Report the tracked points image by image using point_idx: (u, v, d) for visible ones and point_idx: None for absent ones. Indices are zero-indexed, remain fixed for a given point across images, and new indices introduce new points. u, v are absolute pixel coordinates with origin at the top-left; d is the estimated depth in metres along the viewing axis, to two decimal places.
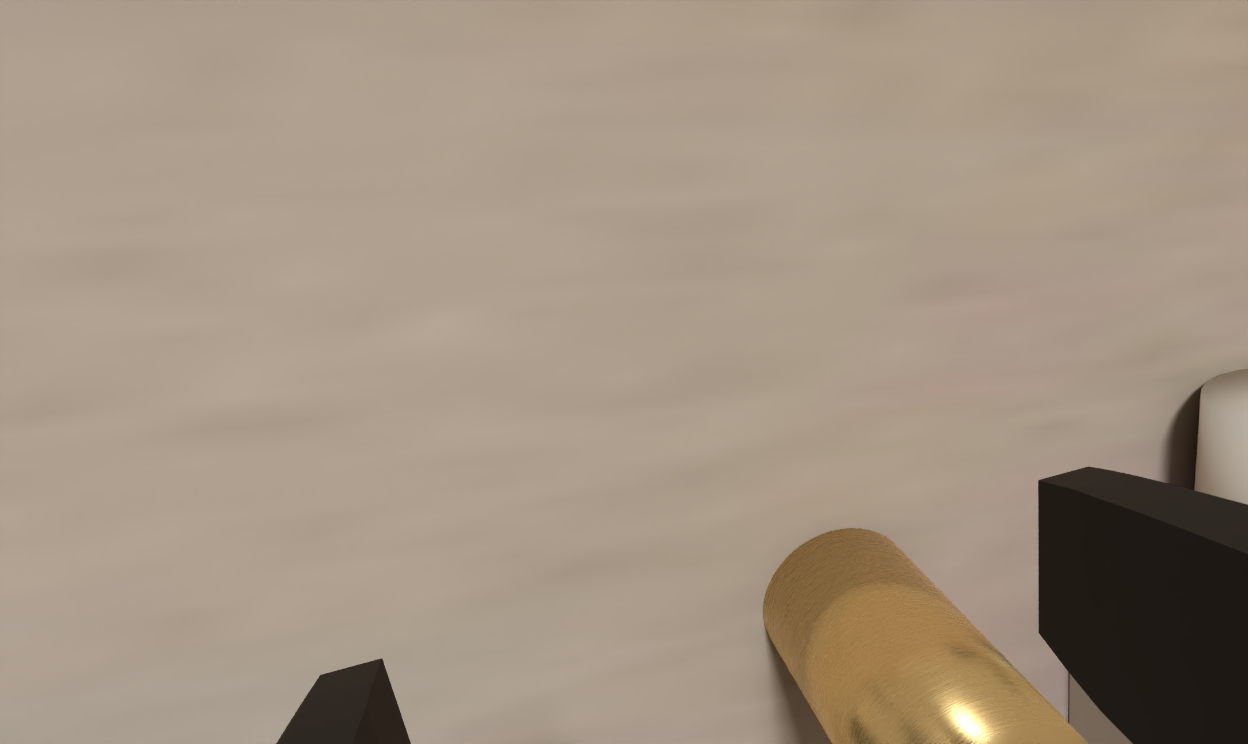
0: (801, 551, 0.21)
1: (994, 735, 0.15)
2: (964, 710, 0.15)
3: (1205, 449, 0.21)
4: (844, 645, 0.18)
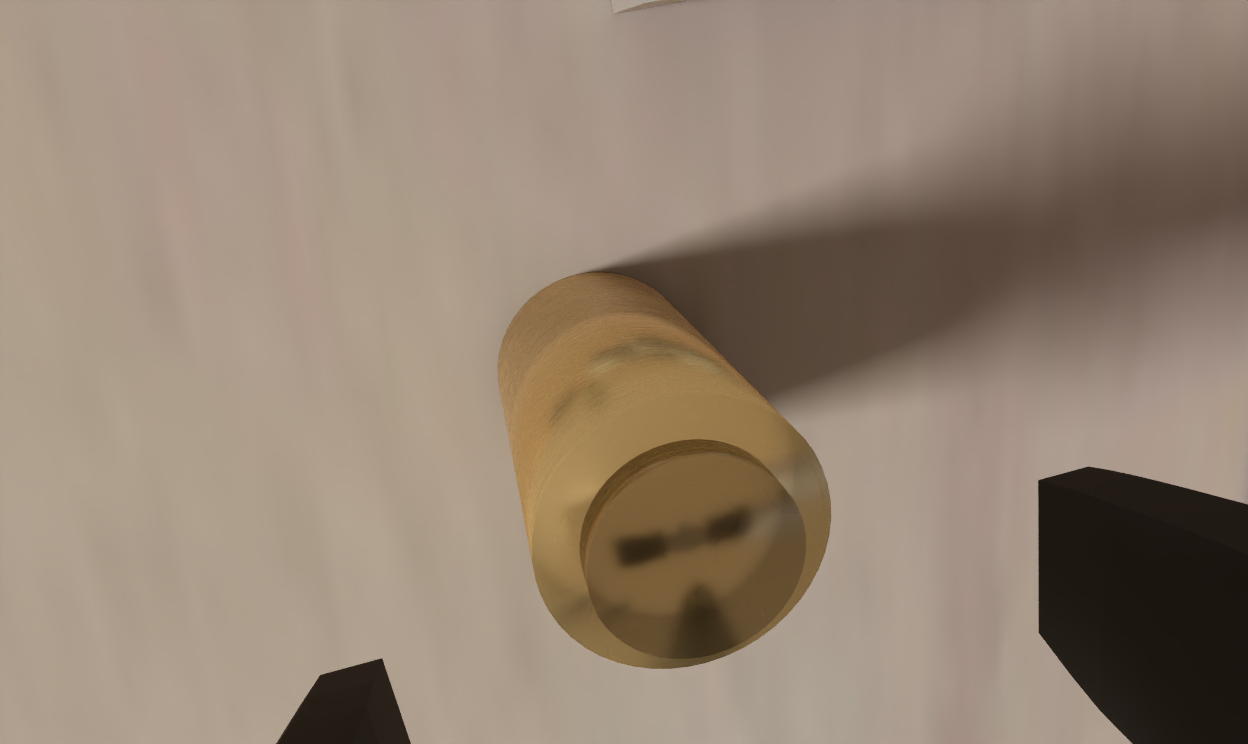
0: None
1: (540, 587, 0.11)
2: None
3: None
4: None
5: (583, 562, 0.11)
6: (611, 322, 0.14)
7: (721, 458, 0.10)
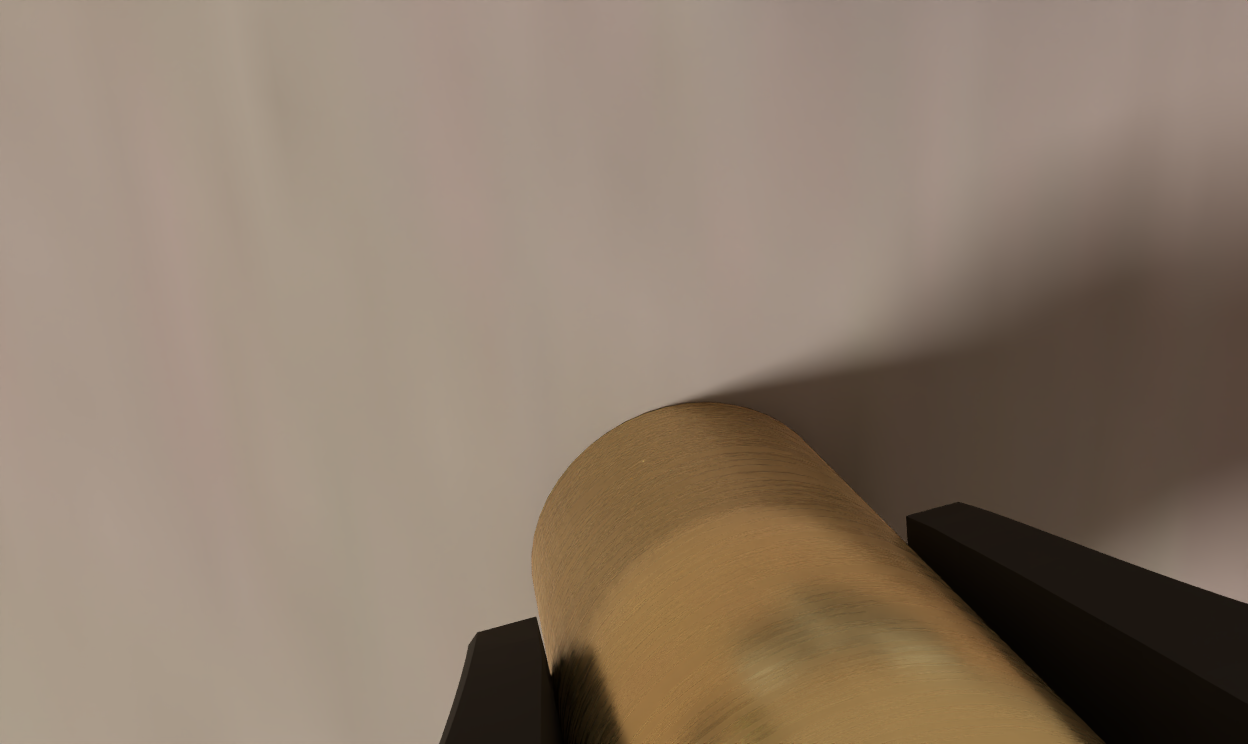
0: None
1: None
2: None
3: None
4: None
5: None
6: (773, 566, 0.07)
7: None
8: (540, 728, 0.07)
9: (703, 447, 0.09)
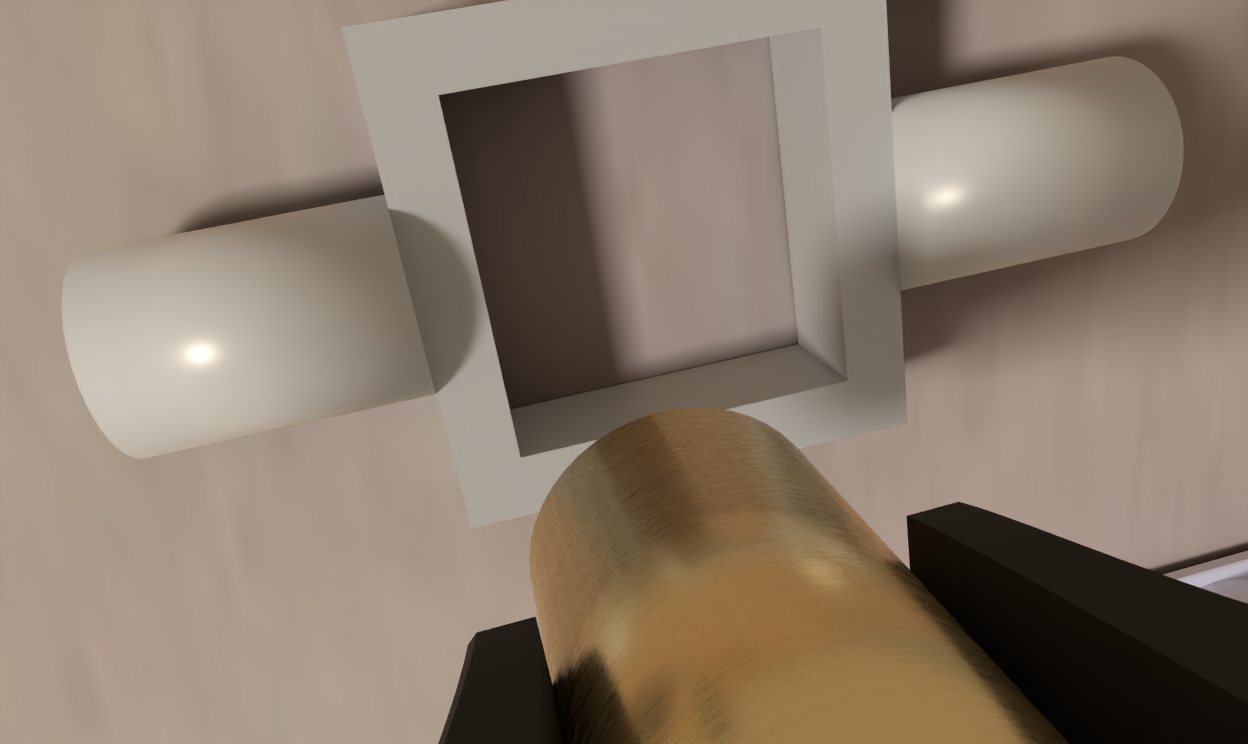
0: None
1: None
2: None
3: None
4: None
5: None
6: (778, 568, 0.07)
7: None
8: (539, 728, 0.07)
9: (709, 451, 0.10)
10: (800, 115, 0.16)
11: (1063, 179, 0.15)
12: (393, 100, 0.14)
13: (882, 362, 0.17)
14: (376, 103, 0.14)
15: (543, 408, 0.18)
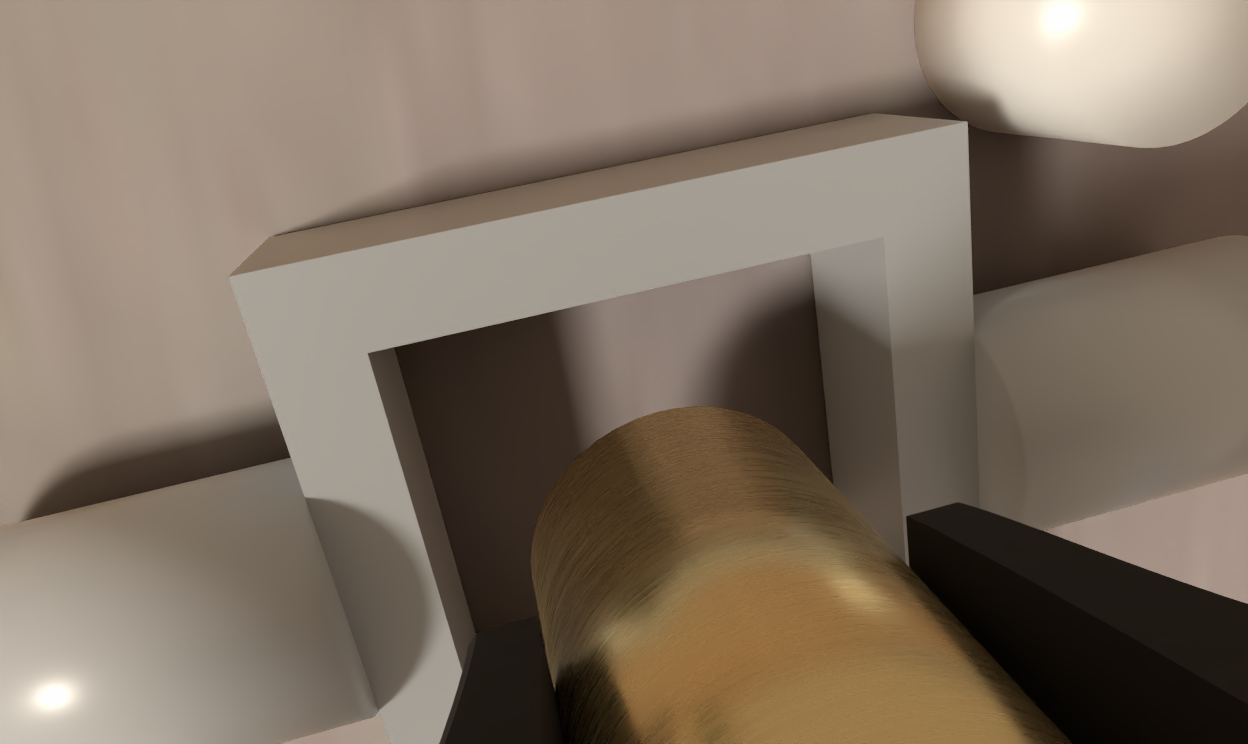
0: None
1: None
2: None
3: None
4: None
5: None
6: (783, 567, 0.07)
7: None
8: (539, 728, 0.07)
9: (713, 450, 0.10)
10: (849, 322, 0.13)
11: (1203, 422, 0.12)
12: (305, 363, 0.10)
13: None
14: (282, 369, 0.10)
15: None
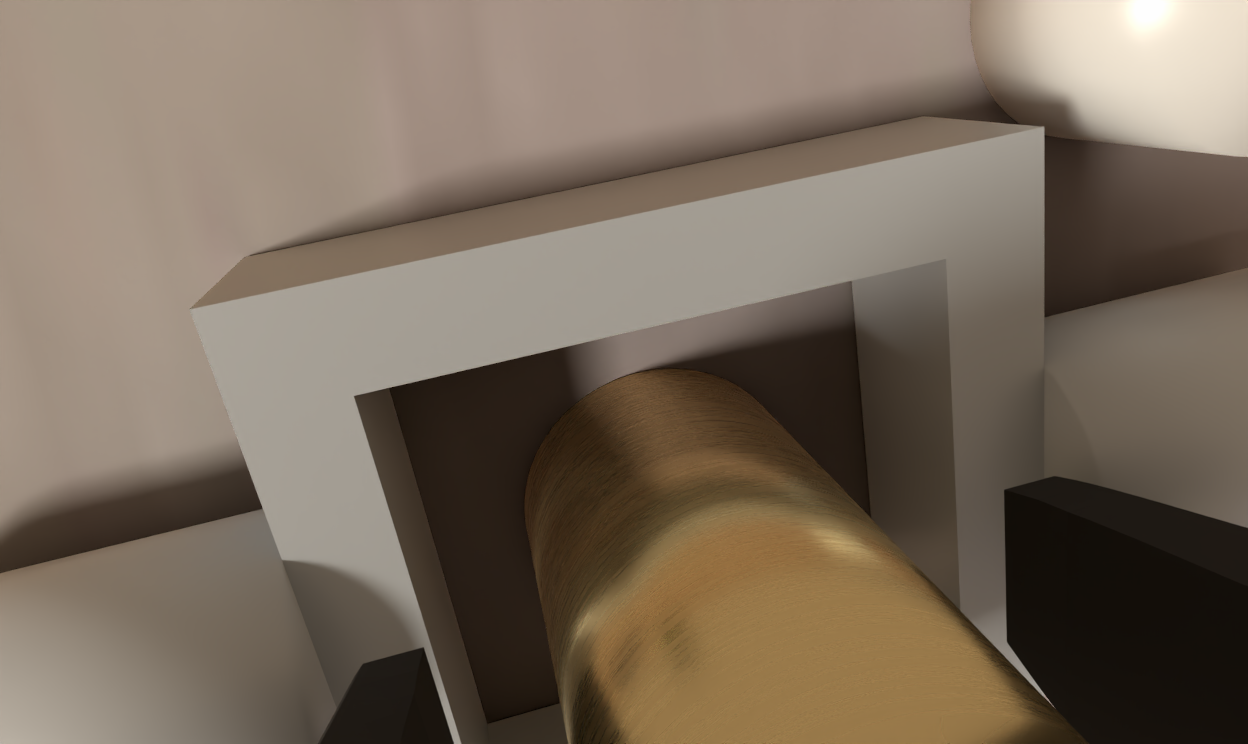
0: None
1: None
2: None
3: None
4: None
5: None
6: (733, 483, 0.09)
7: None
8: None
9: (682, 401, 0.11)
10: (898, 351, 0.11)
11: None
12: (281, 409, 0.09)
13: None
14: (254, 415, 0.09)
15: (532, 727, 0.13)
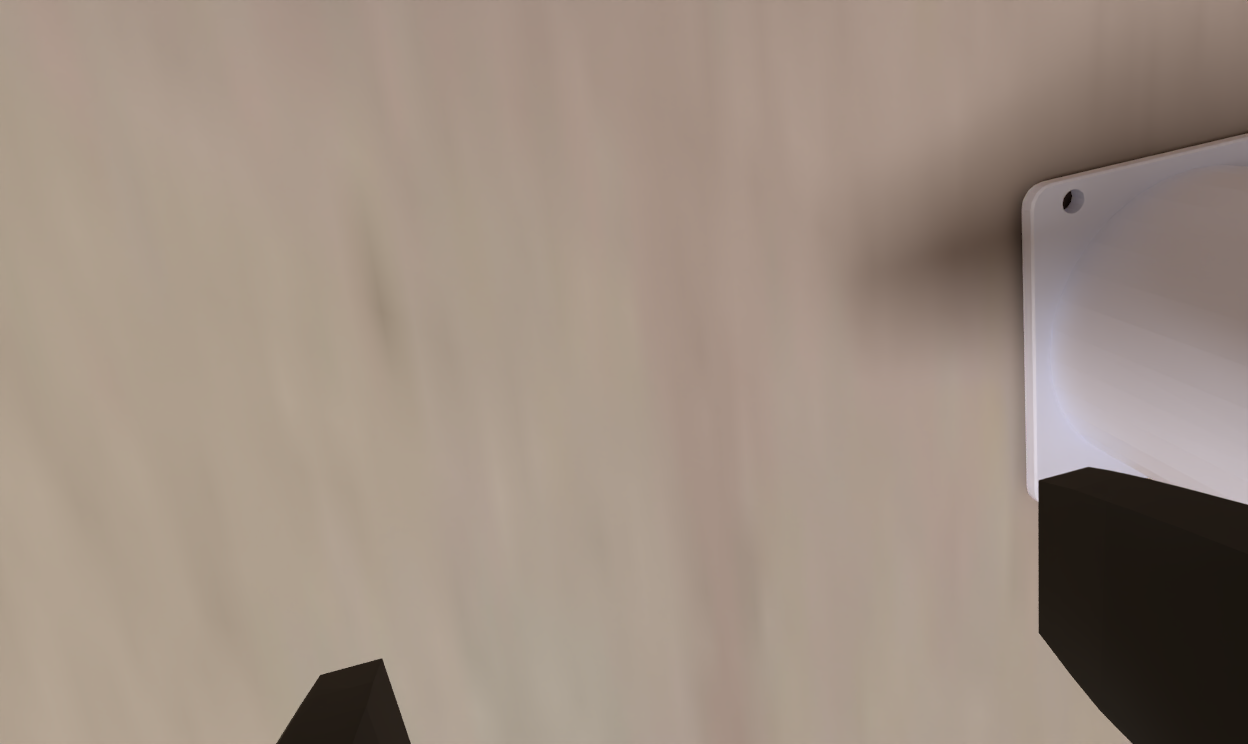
0: None
1: None
2: None
3: None
4: None
5: None
6: None
7: None
8: None
9: None
10: None
11: None
12: None
13: None
14: None
15: None
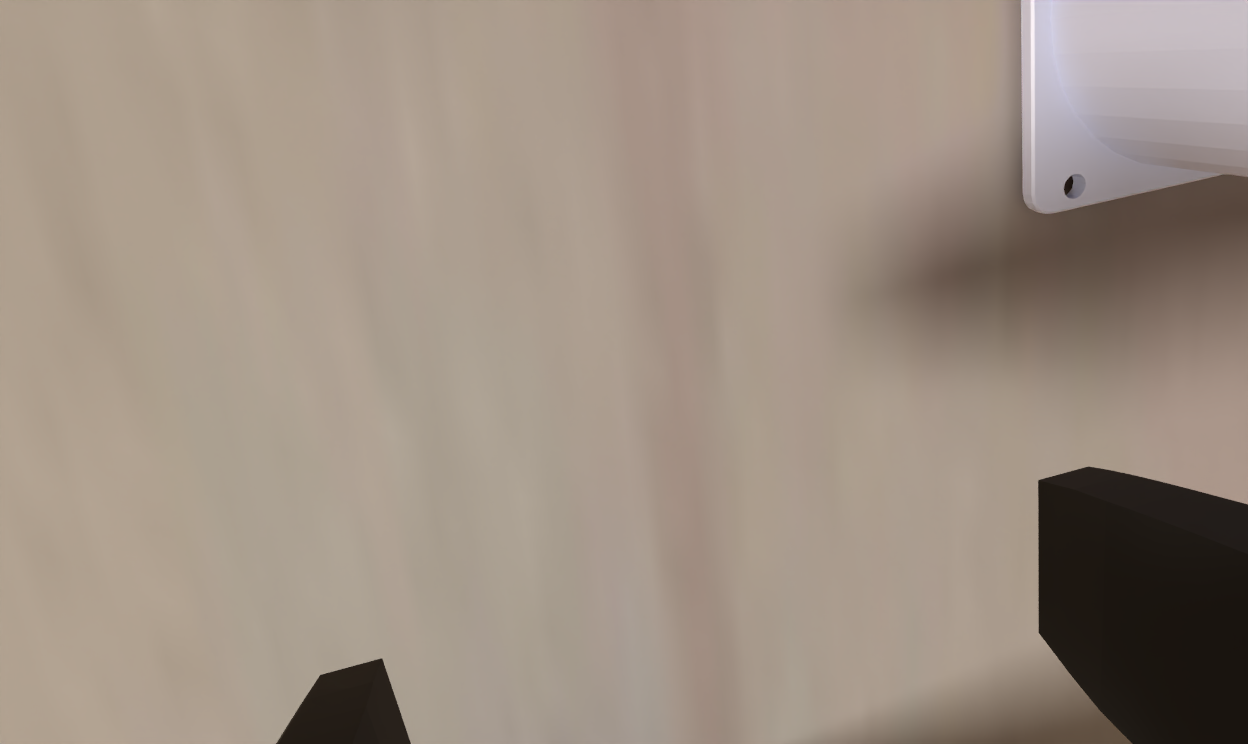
0: None
1: None
2: None
3: None
4: None
5: None
6: None
7: None
8: None
9: None
10: None
11: None
12: None
13: None
14: None
15: None
